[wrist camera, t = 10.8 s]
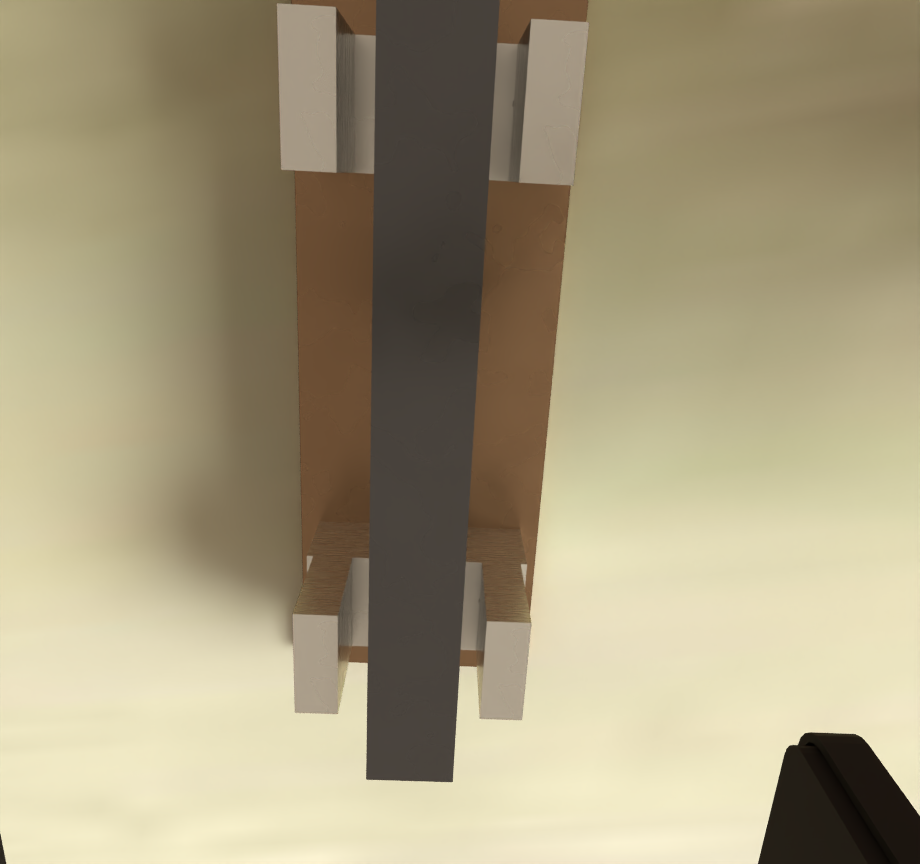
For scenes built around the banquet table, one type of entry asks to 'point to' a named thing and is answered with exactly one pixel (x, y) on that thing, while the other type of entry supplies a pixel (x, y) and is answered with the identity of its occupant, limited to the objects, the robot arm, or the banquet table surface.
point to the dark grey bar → (424, 367)
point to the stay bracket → (350, 329)
